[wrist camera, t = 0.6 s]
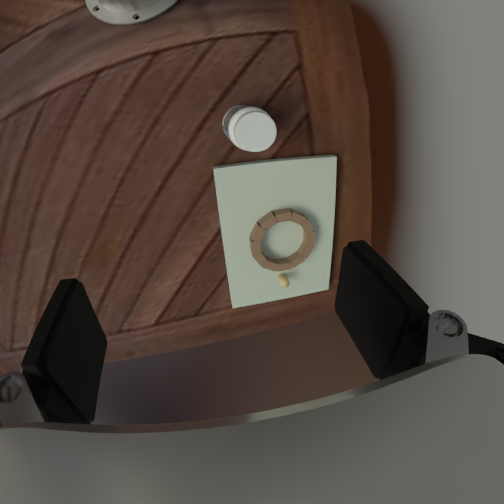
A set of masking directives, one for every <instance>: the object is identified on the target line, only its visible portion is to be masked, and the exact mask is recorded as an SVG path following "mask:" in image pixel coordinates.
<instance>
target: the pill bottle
mask: <svg viewBox="0 0 504 504" xmlns="http://www.w3.org/2000/svg"><path fill="white" fill-rule="evenodd" d="M222 126H223V130H224V132H225V134H226V136H227V137H228V138H229V139H230V140H231V141H232V142H233V143H234V144H235V145H236V146H237V147H238V148H240V149H242V150H246V151H251V152H260V151H263V150H266V149H267V148H269V147H270V146H271V145H272V144H273V142H274V140H275V138H276V133H277V129H276V125H275V123H274V121H273V120H272V118H271V117H270V116H269V114H268V113H267V112H265V111H264V110H262V109H260V108H257V107H253V106H248V105H237V106H234V107H232V108H231V109H229V110H228V111H227V113H226V114H225V116H224V118H223V122H222Z"/></svg>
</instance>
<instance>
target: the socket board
mask: <svg viewBox="0 0 504 504" xmlns="http://www.w3.org/2000/svg"><path fill="white" fill-rule="evenodd" d="M336 169H337V157H336V156H334V155H319V156H305V157H292V158H281V159H271V160H261V161H252V162H244V163H236V164H228V165H221V166H214V167H213V171H214V179H215V187H216V195H217V203H218V210H219V218H220V225H221V233H222V240H223V247H224V254H225V261H226V268H227V275H228V282H229V289H230V295H231V302H232V307H233V308H237V307H243V306H248V305H254V304H259V303H264V302H270V301H275V300H280V299H285V298H290V297H295V296H300V295H304V294H309V293H314V292H318V291H323V290H328V288H329V279H330V268H331V257H332V245H333V232H334V216H335V197H336Z"/></svg>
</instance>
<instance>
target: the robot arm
mask: <svg viewBox="0 0 504 504" xmlns="http://www.w3.org/2000/svg"><path fill="white" fill-rule="evenodd" d="M177 1H178V0H85V2H86V5H87V7H88V9H89V11H90V12H91V13H92V14H93V15H94V16H95V17H96V18H98V19H99V20H101V21H103V22H105V23H108V24H111V25H119V26H124V25H134V24H139V23H143V22H146V21H149V20H151V19H153V18H155V17H157V16H160V15H161V14H163V13H164V12H166V11H167V10H169V9H170V8H171V7H172V6H173V5H174V4H176V2H177ZM97 9H99V10H98V11H97ZM136 17H139V19H137V20H136ZM428 308H429V307H428V305H427V304H426V303H425V302H424V301H423V300H422V299H421V298H420V297H419V296H418V294H417V293H416V292H415V291H414V290H413V289H412V288H411V287H410V286H409V285H408V284H407V283H406V282H405V281H404V280H403V279H402V278H401V277H400V276H399V275H398V273H397V272H396V271H394V269H393V268H392V267H391V266H390V265H389V264H388V263H387V262H386V261H385V260H384V259H383V258H382V257H381V256H380V255H379V254H378V253H377V252H376V251H375V250H373V248H372V247H371V246H370V245H369V244H367V243H366V242H365V241H364V240H360V241H353V242H349V243H348V244H347V246H346V247H344V248H343V253H342V261H341V268H340V275H339V281H338V288H337V294H336V300H335V311H336V313H337V315H338V316H339V318H340V320H341V321H342V323H343V325H344V326H345V328H346V330H347V331H348V333H349V335H350V336H351V338H352V340H353V341H354V343H355V345H356V347H357V348H358V350H359V352H360V353H361V355H362V357H363V358H364V360H365V362H366V363H367V365H368V367H369V368H370V370H371V372H372V374H373V375H374V377H375V378H379V379H380V380H379V381H376V382H373V383H370V384H367V385H364V386H361V387H358V388H355V389H352V390H349V391H345V392H342V393H338V394H335V395H332V396H328V397H324V398H320V399H317V400H312V401H309V402H305V403H301V404H296V405H292V406H287V407H283V408H278V409H273V410H269V411H263V412H257V413H252V414H246V415H240V416H233V417H226V418H219V419H212V420H202V421H194V422H182V423H168V424H149V425H92V424H90V422H93V420H94V417H95V410H96V403H97V396H98V390H99V384H100V378H101V373H102V367H103V362H104V357H105V353H106V348H107V339H106V336H105V334H104V332H103V330H102V328H101V325H100V323H99V321H98V319H97V317H96V314H95V312H94V310H93V308H92V305H91V303H90V301H89V298H88V296H87V294H86V291H85V289H84V286H83V284H82V283H81V282H78V280H77V279H75V278H72V279H64V280H61V281H60V282H59V284H58V286H57V288H56V289H55V291H54V293H53V295H52V297H51V299H50V301H49V303H48V305H47V307H46V309H45V311H44V313H43V315H42V317H41V319H40V322H39V324H38V326H37V328H36V330H35V332H34V335H33V337H32V339H31V342H30V344H29V346H28V349H27V351H26V354H25V356H24V359H23V361H22V364H21V366H22V368H23V369H24V370H23V372H22V374H21V373H20V372H16V371H12V372H8V373H6V374H4V375H3V376H2V377H1V378H0V504H504V344H502V343H499V342H496V341H493V340H489V339H486V338H483V337H479V336H476V335H473V334H469V333H468V331H467V326H466V323H465V322H464V320H463V319H462V318H461V317H460V316H459V315H457V314H455V313H453V312H451V311H448V310H437V311H435V312H433V313H432V314H431V315H430V314H429V313H428V312H427V311H428Z"/></svg>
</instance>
